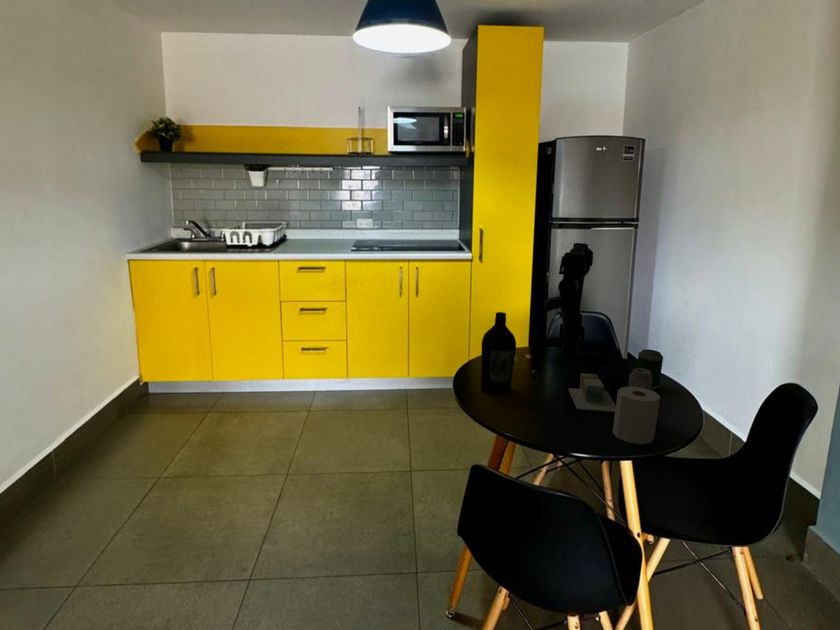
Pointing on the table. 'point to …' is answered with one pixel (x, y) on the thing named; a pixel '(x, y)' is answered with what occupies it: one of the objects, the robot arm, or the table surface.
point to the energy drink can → (641, 378)
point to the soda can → (651, 364)
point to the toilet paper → (636, 415)
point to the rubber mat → (593, 406)
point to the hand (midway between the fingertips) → (566, 334)
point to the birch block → (591, 387)
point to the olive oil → (497, 358)
